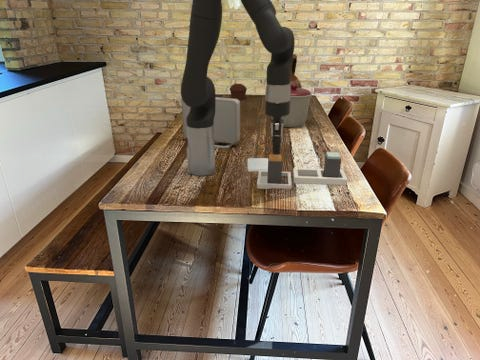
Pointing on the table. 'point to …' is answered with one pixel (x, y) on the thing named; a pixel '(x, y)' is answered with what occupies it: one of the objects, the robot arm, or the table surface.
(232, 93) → the muffin
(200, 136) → the robot arm
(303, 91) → the canister
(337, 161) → the dark board eraser
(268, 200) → the table surface
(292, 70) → the ceramic pitcher
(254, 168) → the hard drive
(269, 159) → the dark grey orange block
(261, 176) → the tray
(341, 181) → the white compartment holder
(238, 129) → the network device
